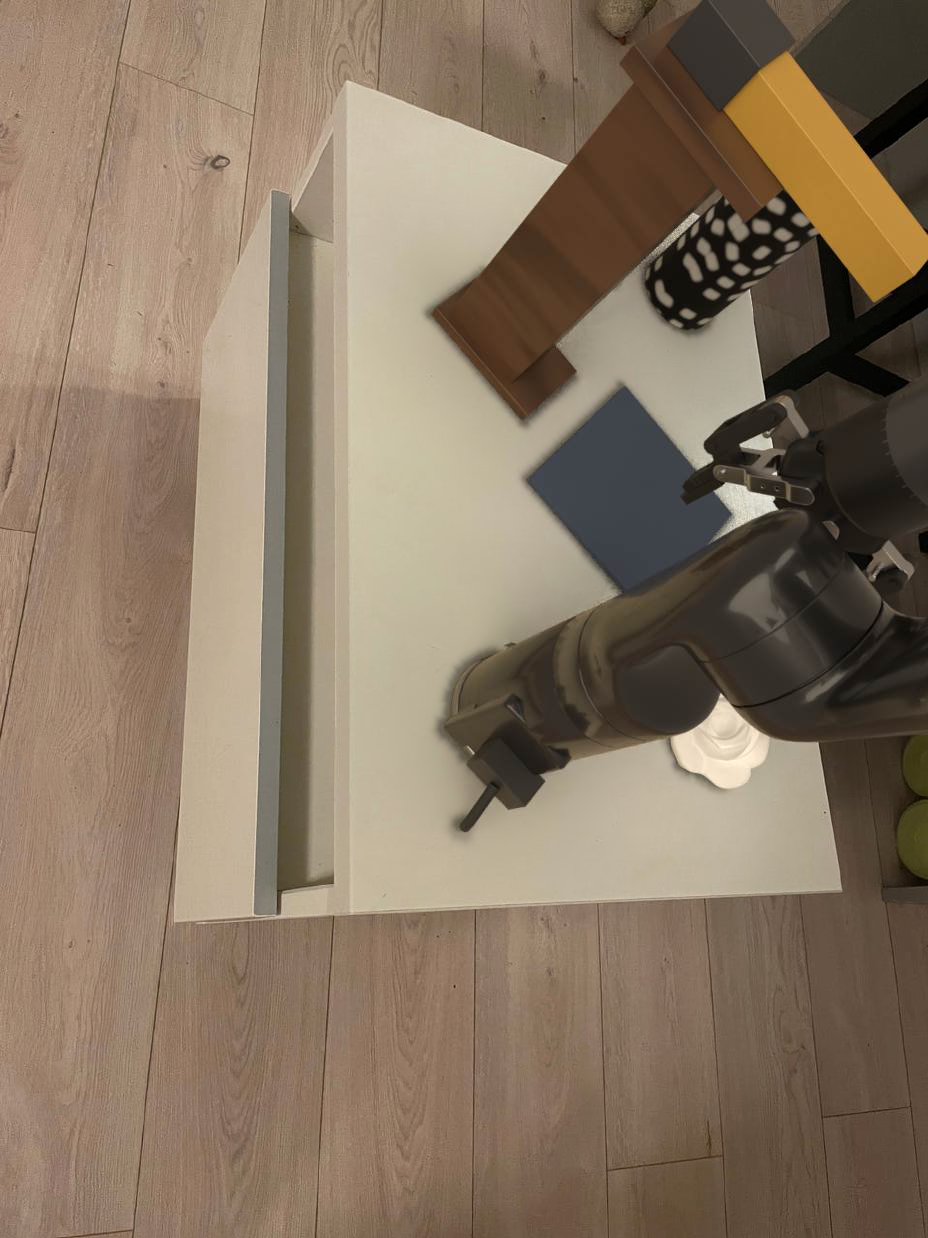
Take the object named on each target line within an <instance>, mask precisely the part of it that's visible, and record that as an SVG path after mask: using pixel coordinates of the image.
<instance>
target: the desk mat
mask: <svg viewBox="0 0 928 1238" xmlns="http://www.w3.org/2000/svg"><path fill="white" fill-rule="evenodd" d="M696 470H697V469H696V468H695V467H694V466H693V465H692V464H691V463H690V462H689V460H688V459H687V458H686V457H685V455H684V454H683V453H682V452H681V451H680V449H679V448H678V447H677V446H676V444H674V442H673V441H672V439H670V437H669V436H668V435H667V434H666V433H665V431H664V430H663V429H662V428H661V426H659V424H658V423H657V422H656V421H655V420H654V418H653V417H652V415H650V413H649V412H648V411H647V410H646V408H645V407H644V406H643V405H642V404H641V403H640V401H639V400H638V399H637V398H636V396H635V395H634V394H633V393H632V392H631V390H630V389H629V388H628V387H627V386H626V385H625V386H623V387H622V388H621V389H619V391H617V392H616V393H615V395H613V397H611V398H610V399H609V400H608V401H607V402H606V403H605V404H604V405H603V406H602V407H601V408H600V409H599V410H598V411H597V412H596V413H595V414H593V416H591V418H590V419H588V421H586V422H585V424H584V425H582V426H581V427H580V428H579V429H578V430H576V432H575V433H574V434H573V435H572V436H571V437H570V438H569V439H568V440H567V441H566V442H565V443H564V444H562V445H561V446H560V447H559V449H557V450H556V451H555V452H554V453H553V454H552V455H551V456H550V457H549V458H548V459H547V460H546V461H545V462H544V463H543V464H542V465H541V466H539V468H537V470H536V471H535V472H533V473H532V474H531V475H530V476H529V477H528V478H527V479H526V481H527V483H528V484H529V485H530V486H531V488H532V489H533V490H534V491H535V492H536V493H537V495H538V496H539V497H540V498H541V499H542V500H543V501H544V502H545V504H546V505H547V506H548V507H549V508H550V510H552V511H553V513H554V514H555V515H556V516H557V518H559V520H560V521H561V522H562V523H563V524H564V525H565V527H566V528H567V529H568V530H569V531H570V532H571V534H572V535H573V536H574V537H575V539H576V540H577V541H578V542H579V543H580V544H581V545H582V547H584V549H585V550H586V551H587V553H589V554H590V555H591V557H592V559H594V560H595V562H597V564H598V565H599V566H600V567H601V568H602V570H603V571H604V572H605V573H606V575H608V577H610V579H611V580H612V582H614V583H615V584H616V586H617V587H618V589H620V591H621V592H622V593H623V592H625V591H626V590H628V589H630V588H632V587H633V586H635V585H636V584H638V583H640V582H642V581H643V580H645V579H647V578H648V577H650V576H652V575H654V574H656V573H657V572H659V571H661V570H663V569H665V568H667V567H669V566H671V565H673V564H675V563H677V562H679V561H681V560H682V559H684V558H686V557H688V556H689V555H691V554H693V553H695V552H696V551H698V550H700V549H702V548H703V547H705V546H707V545H708V544H710V543H711V541H712V540H713V538H714V537H715V536H716V535H717V534H718V532H719V531H720V530H721V529H722V528H723V526H724V525H725V524H726V523H727V521H728V520H729V518H731V516H732V515H733V513H732V511H730V509H729V508H728V507H727V506H726V505H725V503H724V502H723V501H722V500H721V499H720V497H719V496H718V495H717V494H716V492H715V491H712V492H711V493H709V494H707V495H705V496H703V497H701V498H699V499H697V500H695V501H693V502H692V503H690V504H688V505H686V504H685V503H684V502H683V500H682V499H681V498H680V496H681V495H682V494H683V493H684V492H685V490H684V489H683V488H682V486H683V484H684V483H685V481H686V480H687V479H688V478H689V477H690V476H691V475H692V474H693V473H694V472H695V471H696Z"/></svg>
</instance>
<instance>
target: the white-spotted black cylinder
mask: <svg viewBox="0 0 928 1238" xmlns="http://www.w3.org/2000/svg"><path fill="white" fill-rule="evenodd" d="M818 235H820V233H819V232H818V231H817V229H816V228H815V227H814V225H813V224H812V223H811V222H810V220H809V219H808V218H807V216H806V215H805V214H804V213H803V211H802V210H801V209H800V207H799V206H798V205H797V204H796V202H795V201H794V200H793V198H792V197H791V196H790V195H789V193H788V192H787V191H786V190H785V188H784V189H783V190H782V191H781V192H780V193H779V194H777V195H776V196H775V197H774V198H773V199H772V200H771V201H770V202H769V203H768V204H766V205H765V206H764V207H763V208H762V209H761V210H760V211H759V212H757V213H756V214H755V215H754V216H753V217H752V218H751V219H750V220H748V221H747V222H746V223H745V222H744V221H743V220H742V219H741V217H740V216H739V215H738V214H737V212H736V211H735V210H734V209H733V207H732V206H731V205H730V203H729V202H728V201H727V200H726V198H725V197H724V196H723V195H722V194H721V196H719V198H718V199H717V200H716V201H714V202H713V203H712V204H711V205H710V206H709V207H708V208H707V209H706V210H705V211H704V212H703V213H702V214H701V215H700V216H699V217H698V218H696V220H694V222H692V224H690V225H689V226H688V227H687V228H686V229H685V230H684V231H683V232H681V234H680V235H679V236H678V237H677V238H675V240H673V241H672V242H671V243H670V244H669V245H668V246H667V247H666V248H665V249H664V250H663V251H662V252H661V253H659V255H658V256H657V257H655V258H654V259H653V260H652V261H651V262H650V263H649V265H648V267H647V268H646V271H645V287H646V291H647V295H648V298H649V299H650V301H651V303H652V305H653V306H654V308H655V309H656V312H658V313H659V315H661V317H662V318H664V319H665V321H667V322H668V323H670V324H672V326H675V327H676V328H679V329H681V330H685V331H696V330H699V329H701V328H702V327H704V326H705V325H706V324H708V323H709V322H710V321H711V320H713V319H714V318H715V317H717V316H718V315H719V314H720V313H721V312H722V311H724V310H725V309H727V308H728V307H729V306H730V305H731V304H733V303H734V302H735V301H737V300H738V299H739V298H740V297H742V296H743V295H745V293H747V292H748V291H749V290H750V289H752V288H753V287H754V286H756V285H757V284H758V283H759V282H760V281H762V280H763V279H764V278H765V277H766V276H768V275H769V274H770V273H771V272H773V271H774V270H776V269H777V268H778V267H779V266H780V265H782V264H783V263H784V262H785V261H786V260H788V259H789V258H790V257H792V256H793V255H794V254H796V252H798V251H799V250H801V249H802V248H803V247H804V246H805V245H807V244H808V243H809V242H811V241H812V240H813V239H815V238H816V237H817V236H818Z"/></svg>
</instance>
